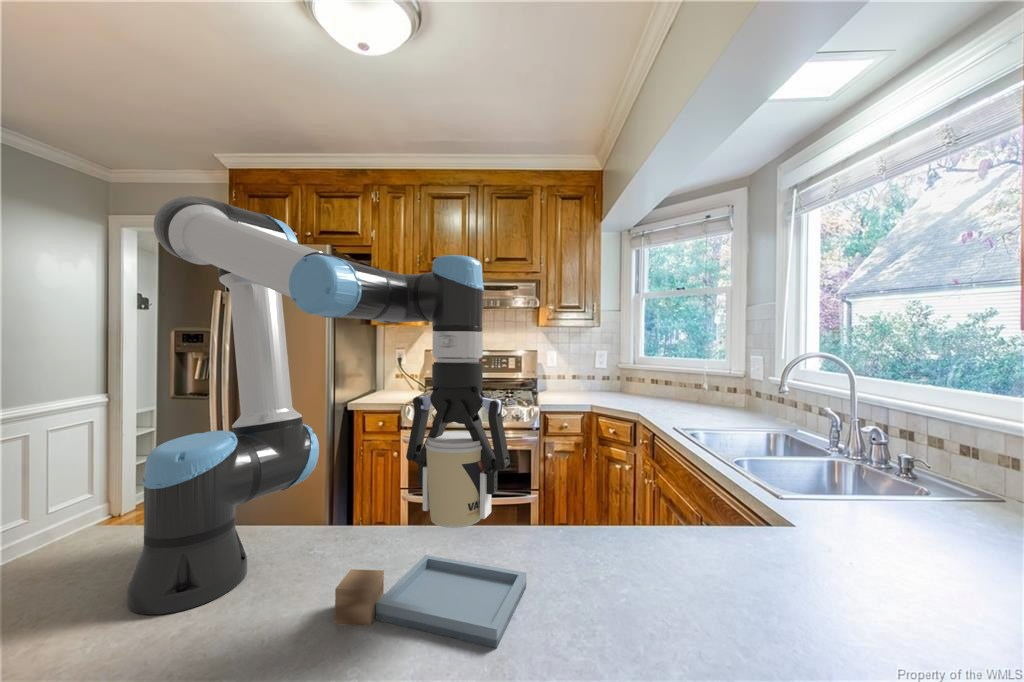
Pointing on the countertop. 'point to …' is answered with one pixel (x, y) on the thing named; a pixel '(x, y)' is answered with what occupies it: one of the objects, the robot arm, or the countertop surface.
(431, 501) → the coffee cup
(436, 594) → the collection tray
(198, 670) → the countertop surface
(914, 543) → the countertop surface
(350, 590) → the walnut block
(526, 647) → the countertop surface
